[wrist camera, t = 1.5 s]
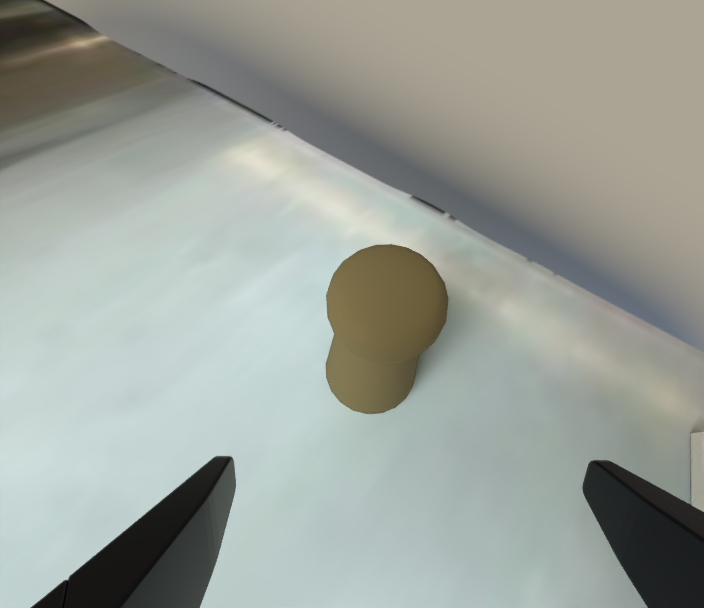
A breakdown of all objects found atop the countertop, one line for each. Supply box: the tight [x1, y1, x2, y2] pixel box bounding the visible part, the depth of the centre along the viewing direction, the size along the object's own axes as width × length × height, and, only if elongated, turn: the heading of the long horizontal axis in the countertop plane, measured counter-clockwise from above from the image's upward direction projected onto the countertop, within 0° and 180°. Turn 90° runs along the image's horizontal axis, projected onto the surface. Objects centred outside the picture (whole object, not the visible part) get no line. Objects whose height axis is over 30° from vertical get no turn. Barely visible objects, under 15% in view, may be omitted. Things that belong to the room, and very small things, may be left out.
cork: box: [326, 244, 448, 414], centre depth 18 cm, size 6×6×11 cm
